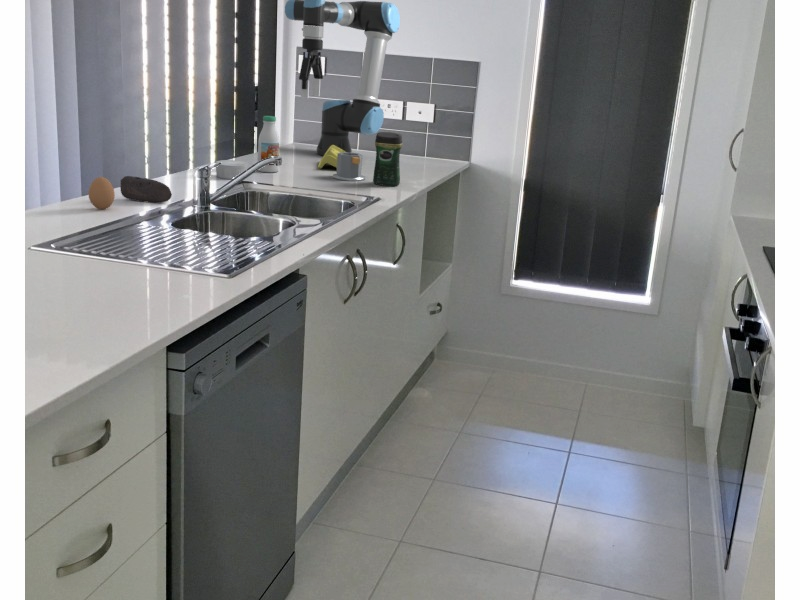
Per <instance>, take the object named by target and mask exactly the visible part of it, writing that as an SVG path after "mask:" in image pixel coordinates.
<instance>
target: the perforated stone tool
mask: <svg viewBox="0 0 800 600" xmlns="http://www.w3.org/2000/svg"><path fill="white" fill-rule="evenodd" d="M119 188H120V194H121V195H122V197H123V198H125V199H128V200H132V201H136V200H139V201H138V202H144V201H148V202H147V203H156V202H160V203H165V202H169V200H171V199H172V195H173V193H172V191H171V189H170V187H169V186H168V185H166V183H163V182H160V181H158V180H155V179H151V178H146V177H139V176H138V177H137V176H132V175H127V176H126V175H125V176H124V177H122V178H121V179H120V185H119Z"/></svg>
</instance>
